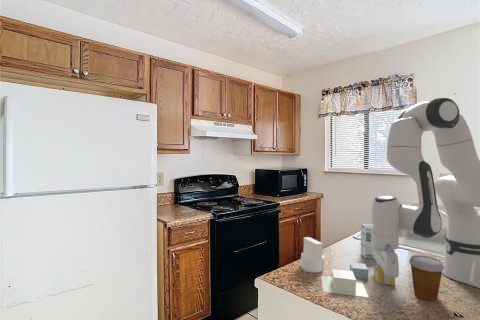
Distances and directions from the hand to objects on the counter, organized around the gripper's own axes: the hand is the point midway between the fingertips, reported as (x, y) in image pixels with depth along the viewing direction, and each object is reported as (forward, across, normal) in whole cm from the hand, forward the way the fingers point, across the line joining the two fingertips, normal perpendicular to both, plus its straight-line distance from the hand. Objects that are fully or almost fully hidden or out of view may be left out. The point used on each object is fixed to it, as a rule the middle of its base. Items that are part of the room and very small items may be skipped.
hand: (383, 278), depth 97 cm
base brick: (+1, -8, +15) cm, 17 cm away
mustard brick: (+2, 0, 0) cm, 2 cm away
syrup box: (+2, +28, -1) cm, 28 cm away
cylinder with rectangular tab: (+2, +5, +25) cm, 26 cm away
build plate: (+2, -8, +15) cm, 17 cm away
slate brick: (+2, +3, +8) cm, 9 cm away
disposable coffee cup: (+2, -6, -11) cm, 13 cm away
